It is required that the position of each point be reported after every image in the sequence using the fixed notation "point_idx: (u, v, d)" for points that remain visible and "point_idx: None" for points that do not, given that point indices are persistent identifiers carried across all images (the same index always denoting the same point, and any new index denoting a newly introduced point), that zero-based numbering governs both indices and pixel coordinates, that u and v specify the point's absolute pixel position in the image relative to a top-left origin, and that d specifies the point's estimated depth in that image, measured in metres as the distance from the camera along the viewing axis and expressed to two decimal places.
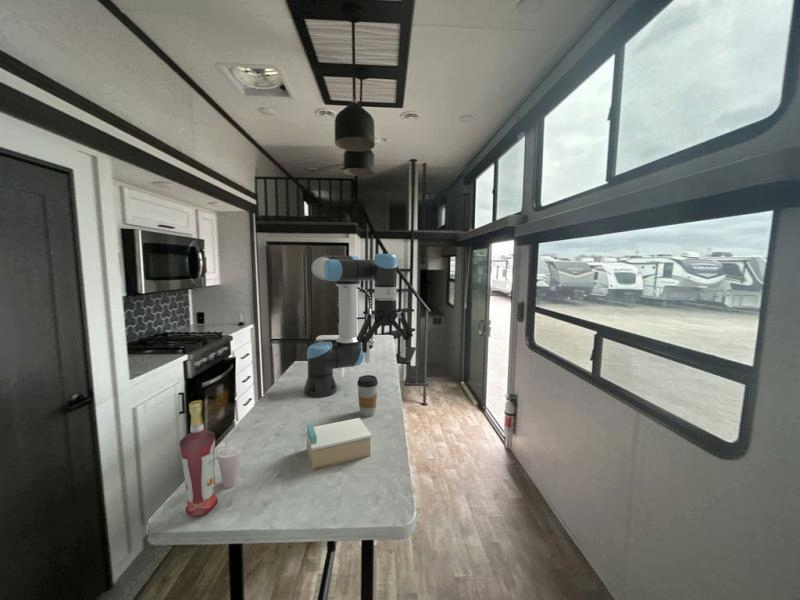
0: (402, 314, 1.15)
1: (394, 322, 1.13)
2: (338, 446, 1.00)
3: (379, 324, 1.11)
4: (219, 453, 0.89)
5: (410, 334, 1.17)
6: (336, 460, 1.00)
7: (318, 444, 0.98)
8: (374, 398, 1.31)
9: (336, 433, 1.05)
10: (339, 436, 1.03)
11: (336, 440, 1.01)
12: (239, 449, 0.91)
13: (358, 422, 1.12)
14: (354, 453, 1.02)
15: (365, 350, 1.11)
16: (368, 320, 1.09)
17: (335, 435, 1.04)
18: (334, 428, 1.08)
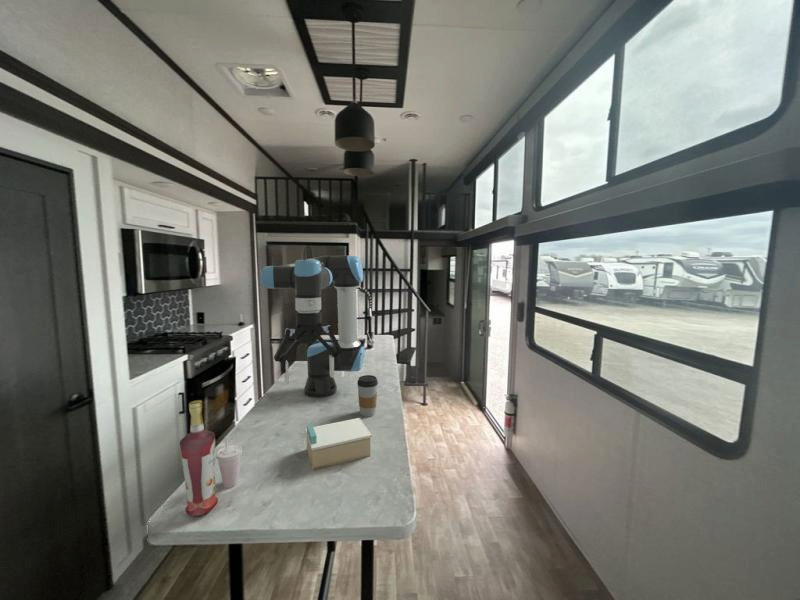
0: (329, 328, 1.01)
1: (319, 337, 0.99)
2: (338, 446, 1.00)
3: (300, 340, 0.97)
4: (219, 453, 0.89)
5: (340, 351, 1.03)
6: (336, 460, 1.00)
7: (318, 444, 0.98)
8: (374, 398, 1.31)
9: (336, 433, 1.05)
10: (339, 436, 1.03)
11: (336, 440, 1.01)
12: (239, 449, 0.91)
13: (358, 422, 1.12)
14: (354, 453, 1.02)
15: (284, 370, 0.96)
16: (286, 336, 0.95)
17: (335, 435, 1.04)
18: (334, 428, 1.08)
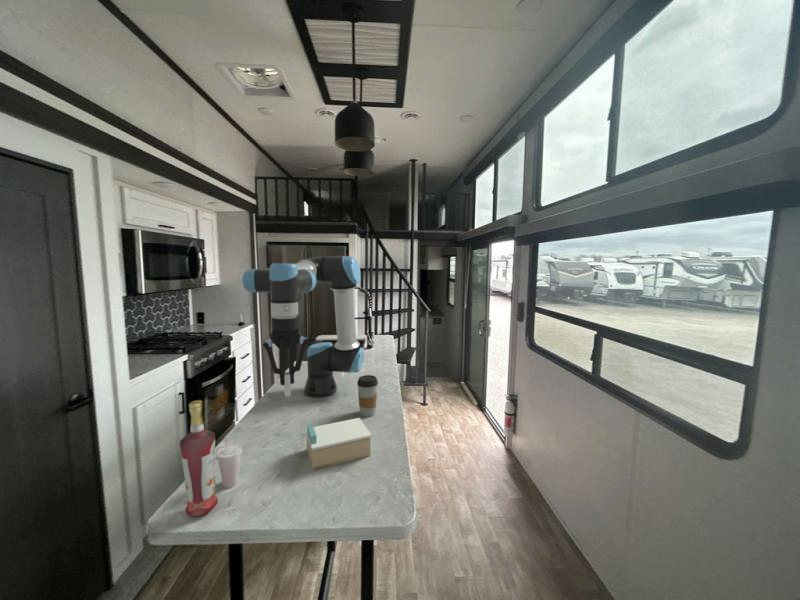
0: (305, 340, 0.97)
1: (291, 346, 0.95)
2: (338, 446, 1.00)
3: (282, 348, 0.94)
4: (219, 453, 0.89)
5: (298, 367, 0.97)
6: (336, 460, 1.00)
7: (318, 444, 0.98)
8: (374, 398, 1.31)
9: (336, 433, 1.05)
10: (339, 436, 1.03)
11: (336, 440, 1.01)
12: (239, 449, 0.91)
13: (358, 422, 1.12)
14: (354, 453, 1.02)
15: (283, 382, 0.96)
16: (267, 349, 0.93)
17: (335, 435, 1.04)
18: (334, 428, 1.08)
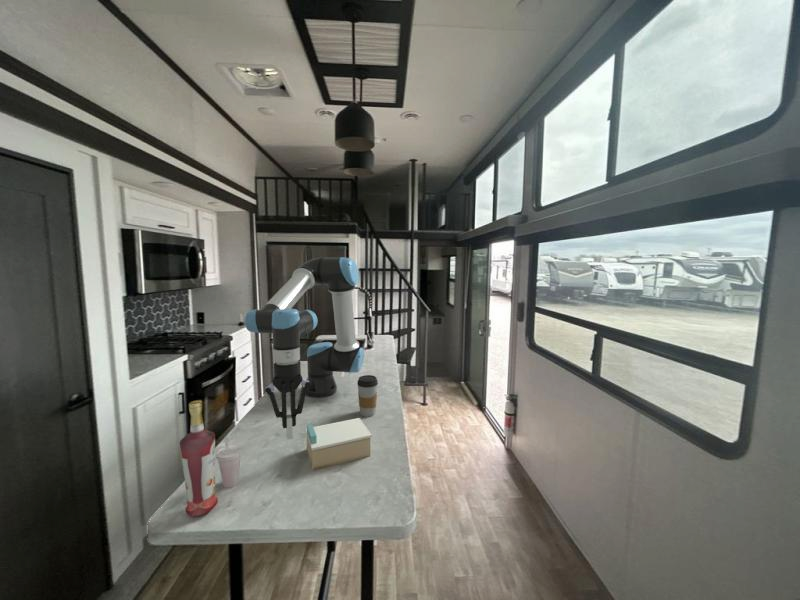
0: (307, 384, 0.99)
1: (293, 390, 0.97)
2: (338, 446, 1.00)
3: (284, 393, 0.96)
4: (219, 453, 0.89)
5: (299, 410, 0.99)
6: (336, 460, 1.00)
7: (318, 444, 0.98)
8: (374, 398, 1.31)
9: (336, 433, 1.05)
10: (339, 436, 1.03)
11: (336, 440, 1.01)
12: (239, 449, 0.91)
13: (358, 422, 1.12)
14: (354, 453, 1.02)
15: (285, 425, 0.98)
16: (269, 394, 0.94)
17: (335, 435, 1.04)
18: (334, 428, 1.08)
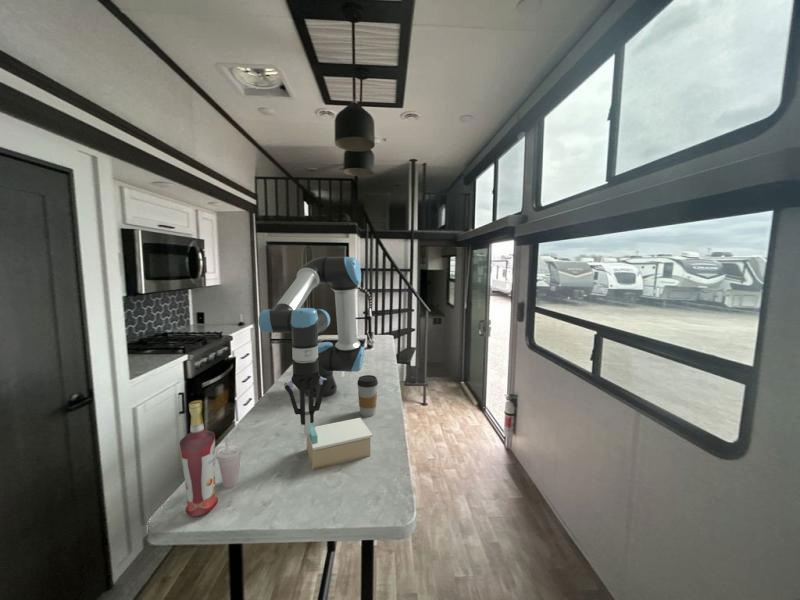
0: (324, 382, 1.01)
1: (311, 388, 0.99)
2: (338, 446, 1.00)
3: (302, 390, 0.98)
4: (219, 453, 0.89)
5: (317, 407, 1.01)
6: (336, 460, 1.00)
7: (319, 444, 0.98)
8: (374, 398, 1.31)
9: (337, 433, 1.05)
10: (340, 435, 1.03)
11: (337, 440, 1.01)
12: (239, 449, 0.91)
13: (359, 422, 1.12)
14: (354, 453, 1.02)
15: (303, 422, 1.00)
16: (289, 391, 0.97)
17: (336, 435, 1.04)
18: (335, 428, 1.08)
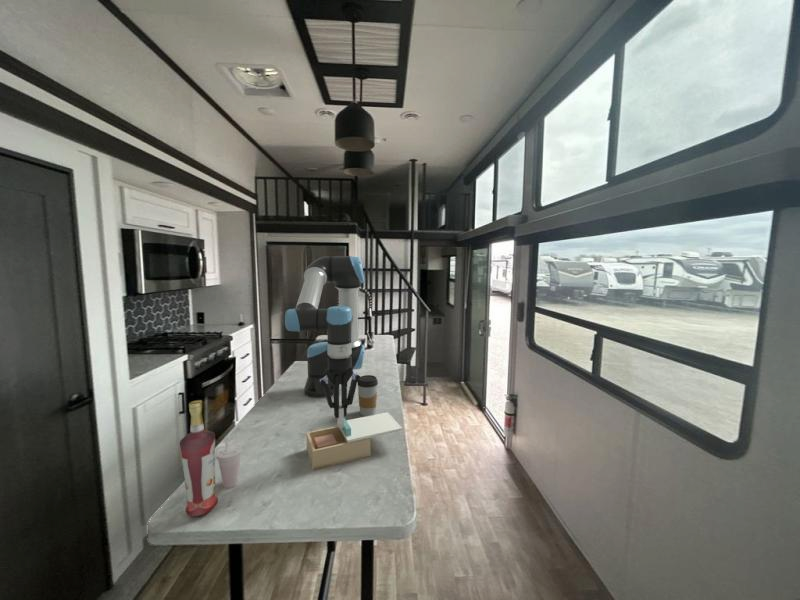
0: (357, 377, 1.05)
1: (345, 382, 1.03)
2: (338, 446, 1.00)
3: (337, 385, 1.02)
4: (219, 453, 0.89)
5: (350, 401, 1.05)
6: (336, 460, 1.00)
7: (353, 436, 1.03)
8: (374, 398, 1.31)
9: (368, 426, 1.09)
10: (371, 429, 1.08)
11: (369, 433, 1.05)
12: (239, 449, 0.91)
13: (387, 416, 1.16)
14: (354, 453, 1.02)
15: (337, 415, 1.04)
16: (324, 386, 1.01)
17: (367, 428, 1.08)
18: (365, 422, 1.12)
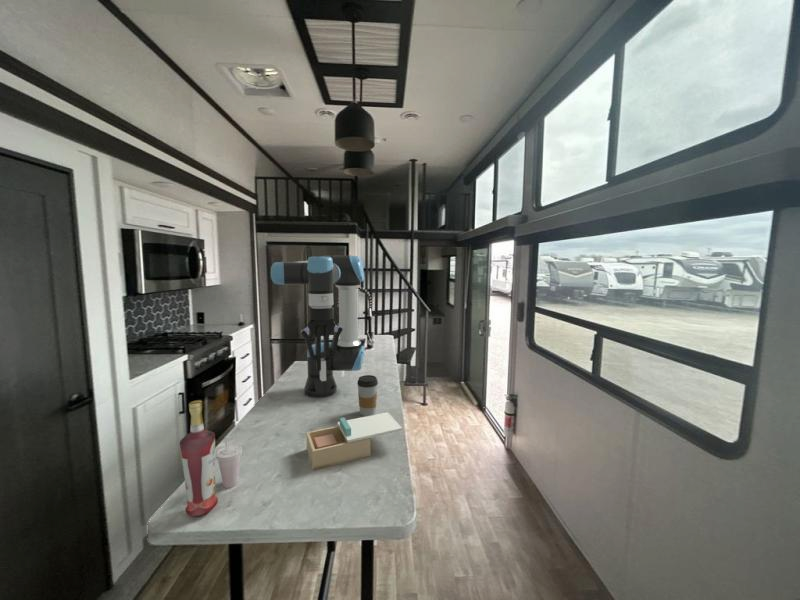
0: (339, 329, 1.04)
1: (327, 334, 1.01)
2: (338, 446, 1.00)
3: (319, 336, 1.00)
4: (219, 453, 0.89)
5: (333, 354, 1.04)
6: (336, 460, 1.00)
7: (353, 436, 1.03)
8: (374, 398, 1.31)
9: (368, 426, 1.09)
10: (371, 429, 1.08)
11: (370, 433, 1.05)
12: (239, 449, 0.91)
13: (387, 416, 1.16)
14: (354, 453, 1.02)
15: (319, 368, 1.03)
16: (305, 337, 0.99)
17: (367, 428, 1.08)
18: (365, 422, 1.12)
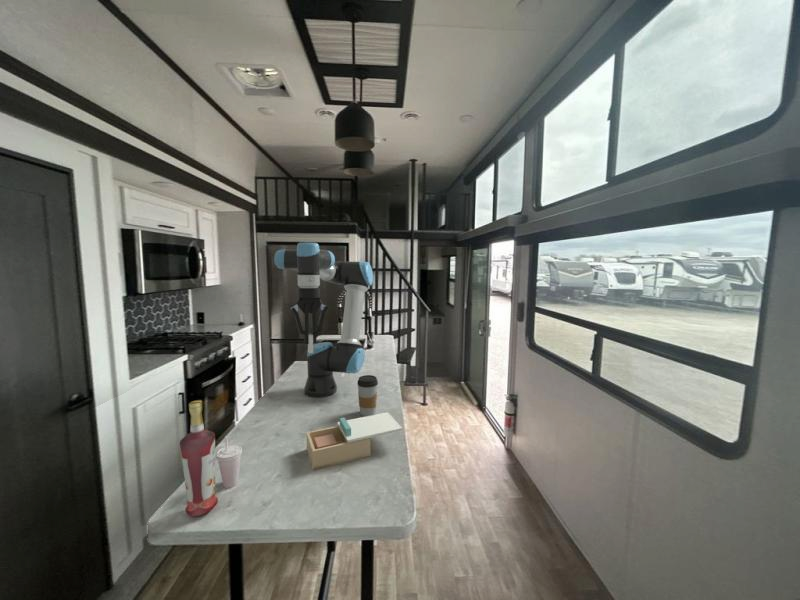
0: (325, 307, 1.17)
1: (314, 311, 1.15)
2: (338, 446, 1.00)
3: (306, 313, 1.14)
4: (219, 453, 0.89)
5: (319, 329, 1.17)
6: (336, 460, 1.00)
7: (353, 436, 1.03)
8: (374, 398, 1.31)
9: (368, 426, 1.09)
10: (371, 429, 1.08)
11: (370, 433, 1.05)
12: (239, 449, 0.91)
13: (387, 416, 1.16)
14: (354, 453, 1.02)
15: (307, 341, 1.16)
16: (295, 313, 1.13)
17: (367, 428, 1.08)
18: (365, 422, 1.12)
